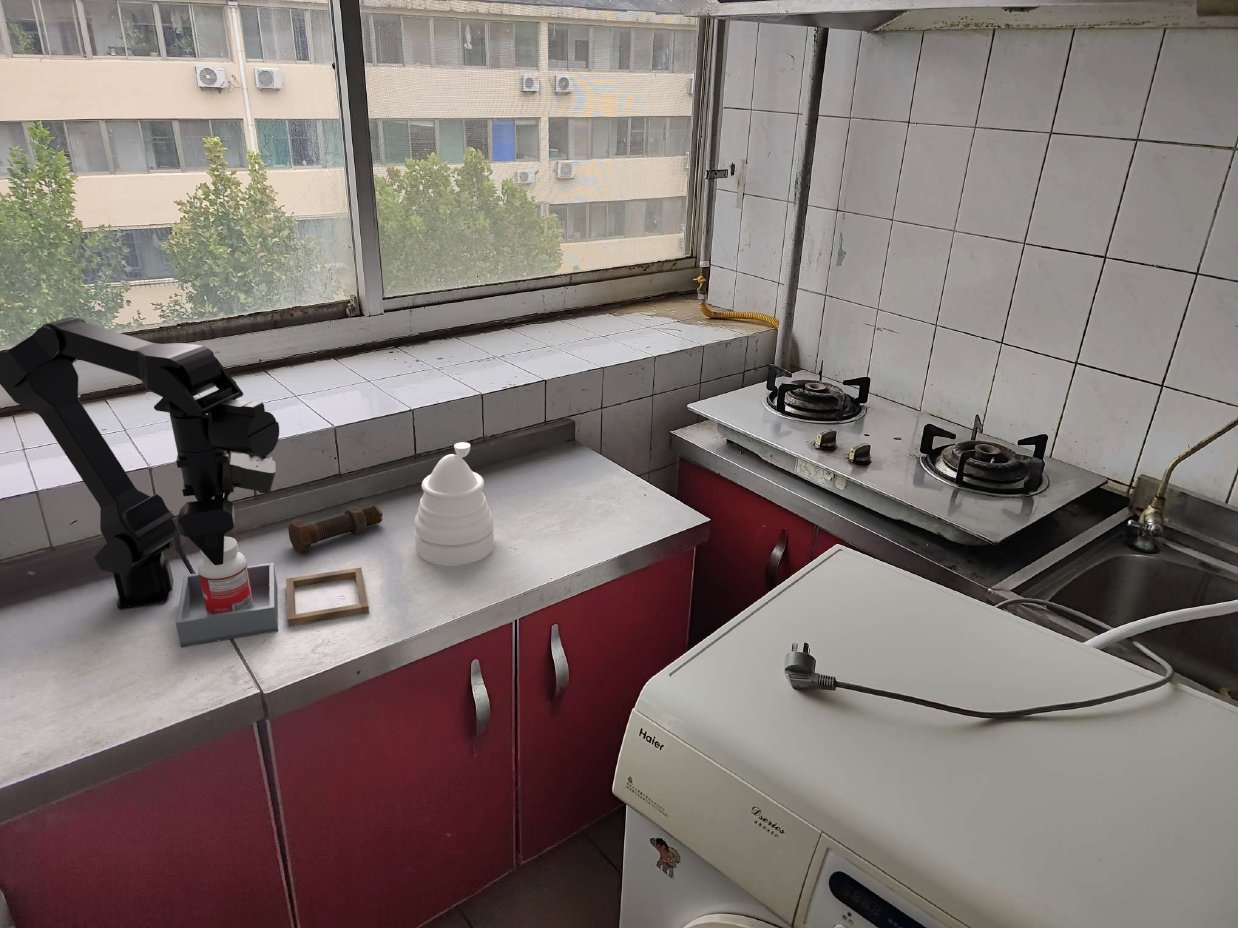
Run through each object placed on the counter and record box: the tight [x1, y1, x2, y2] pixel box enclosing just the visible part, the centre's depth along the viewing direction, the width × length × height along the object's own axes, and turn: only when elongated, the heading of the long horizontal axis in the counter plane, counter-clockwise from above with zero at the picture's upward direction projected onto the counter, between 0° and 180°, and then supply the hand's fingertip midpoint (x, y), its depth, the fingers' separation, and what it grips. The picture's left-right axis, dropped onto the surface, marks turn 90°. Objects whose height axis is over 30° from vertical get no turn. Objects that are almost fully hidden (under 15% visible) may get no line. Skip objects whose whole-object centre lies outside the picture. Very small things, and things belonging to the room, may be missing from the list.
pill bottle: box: [197, 536, 253, 615], centre depth 116 cm, size 6×6×11 cm
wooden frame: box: [285, 566, 370, 627], centre depth 123 cm, size 11×11×1 cm
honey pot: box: [414, 441, 495, 567], centre depth 135 cm, size 13×13×18 cm
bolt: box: [287, 505, 384, 555], centre depth 139 cm, size 6×5×15 cm
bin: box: [175, 562, 279, 648], centre depth 118 cm, size 12×12×4 cm
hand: (220, 547), depth 114 cm, fingers open, 9 cm apart
